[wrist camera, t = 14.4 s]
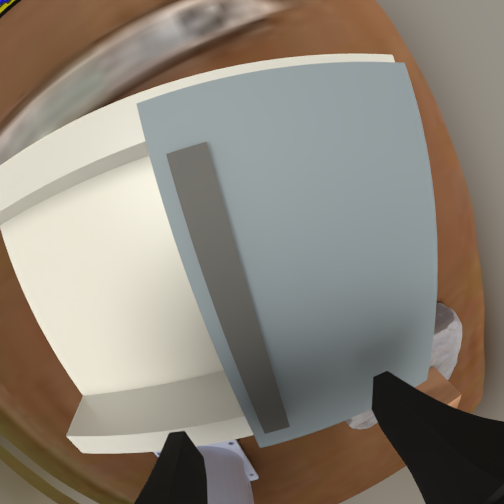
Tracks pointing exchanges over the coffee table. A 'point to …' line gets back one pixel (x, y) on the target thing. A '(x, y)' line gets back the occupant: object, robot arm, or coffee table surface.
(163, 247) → the white sliding box
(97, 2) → the coffee table surface
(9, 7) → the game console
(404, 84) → the slide cover
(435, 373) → the block
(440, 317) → the stone block
